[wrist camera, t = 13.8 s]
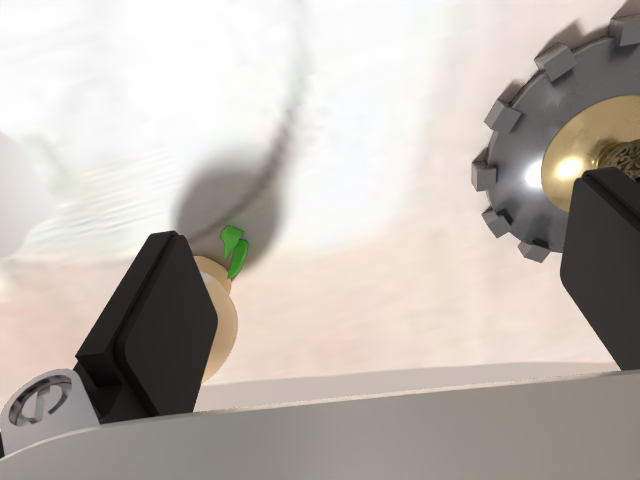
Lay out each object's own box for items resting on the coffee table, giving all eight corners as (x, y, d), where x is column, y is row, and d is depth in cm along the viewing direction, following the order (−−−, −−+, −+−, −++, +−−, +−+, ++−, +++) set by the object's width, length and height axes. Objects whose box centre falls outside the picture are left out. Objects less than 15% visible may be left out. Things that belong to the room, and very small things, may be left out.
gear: (473, 43, 34) (480, 48, 33) (788, -13, 32) (810, -11, 30) (470, 268, 46) (475, 278, 45) (698, 239, 44) (711, 249, 42)
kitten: (195, 197, 42) (140, 302, 30) (282, 249, 46) (264, 364, 33) (132, 291, 49) (65, 410, 37) (211, 331, 52) (175, 452, 40)
